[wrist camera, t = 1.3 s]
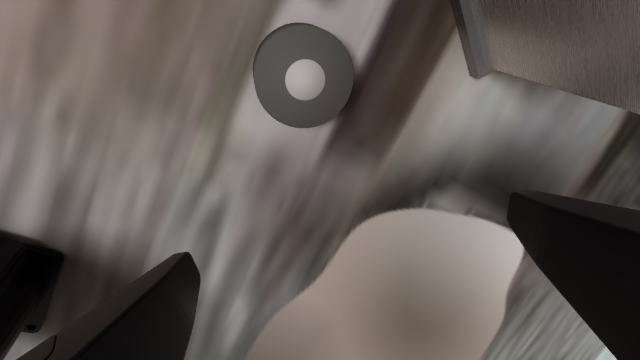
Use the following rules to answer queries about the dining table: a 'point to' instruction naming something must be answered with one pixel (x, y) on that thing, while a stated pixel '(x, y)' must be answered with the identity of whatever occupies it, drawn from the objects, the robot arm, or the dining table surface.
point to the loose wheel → (302, 75)
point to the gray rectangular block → (557, 44)
